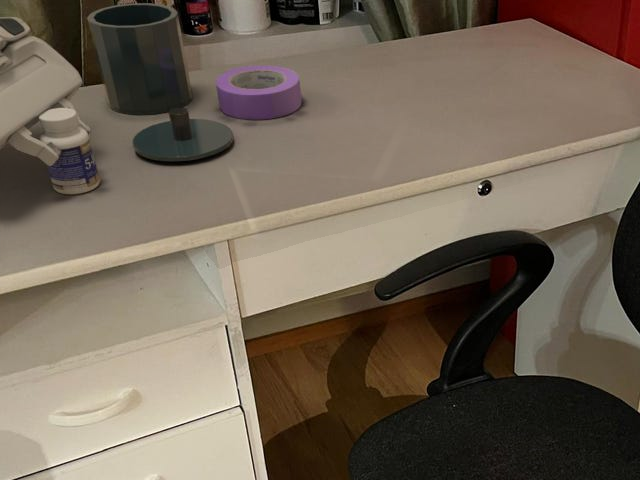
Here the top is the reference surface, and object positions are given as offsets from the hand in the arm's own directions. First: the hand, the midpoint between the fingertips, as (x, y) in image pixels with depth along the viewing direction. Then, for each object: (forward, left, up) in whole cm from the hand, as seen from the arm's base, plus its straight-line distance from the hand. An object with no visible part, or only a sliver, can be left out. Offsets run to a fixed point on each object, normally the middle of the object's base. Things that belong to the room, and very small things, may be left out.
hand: (72, 148), depth 101 cm
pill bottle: (-1, 0, -5) cm, 5 cm away
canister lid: (+10, +11, -4) cm, 16 cm away
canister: (+3, +28, -5) cm, 29 cm away
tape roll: (+19, +25, -5) cm, 32 cm away
